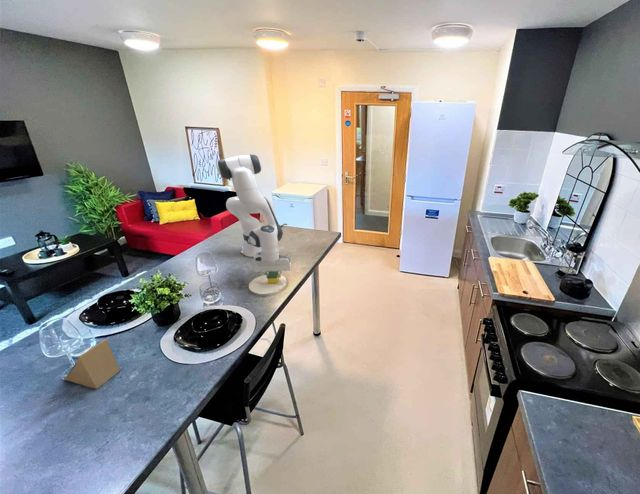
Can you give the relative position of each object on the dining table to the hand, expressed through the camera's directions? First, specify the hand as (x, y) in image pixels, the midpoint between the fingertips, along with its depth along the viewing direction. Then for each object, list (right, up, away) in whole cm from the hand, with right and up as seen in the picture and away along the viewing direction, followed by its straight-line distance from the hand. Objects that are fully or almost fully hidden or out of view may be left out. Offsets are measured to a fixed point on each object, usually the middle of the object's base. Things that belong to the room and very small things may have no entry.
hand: (273, 277), depth 161 cm
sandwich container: (-47, -28, -57) cm, 79 cm away
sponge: (0, -1, +1) cm, 2 cm away
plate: (-2, -4, -2) cm, 5 cm away
